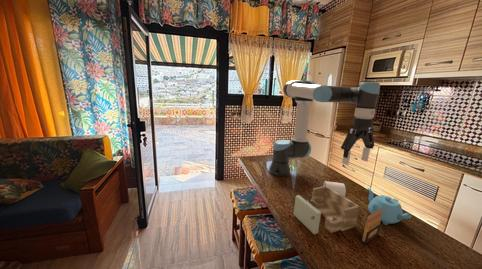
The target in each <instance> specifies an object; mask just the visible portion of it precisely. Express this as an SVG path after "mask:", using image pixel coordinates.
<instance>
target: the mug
mask: <svg viewBox="0 0 482 269" xmlns="http://www.w3.org/2000/svg"><path fill="white" fill-rule="evenodd" d="M323 186H327V187H328V188H330V189H332V190H333V191H335V192H337V193H338V194H340V195H342V196H343V197H345V198H346V191H347V189H346V185H345V183H342V182H334V181H327V180H325V181H323V184H322V187H323Z"/></svg>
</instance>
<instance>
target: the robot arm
mask: <svg viewBox="0 0 482 269" xmlns="http://www.w3.org/2000/svg"><path fill="white" fill-rule="evenodd" d="M380 88H381V84H380V82H377V81H364V82H360V83H359V86H358V87H357V86H341V85H340V86H339V85H337V86H335V85H324V84H316V82H314V81H312V80H298V79H297V80H296V79H292V80H288V81H287V82H285V84H284V85H283V88H282V91H283V94H284V96H286V97H288V98H290V99H294V101H295V103H296V112H295V119H294V120H295V122H294V132H293V137H292V138H291V140H288V139H279V140H275V142H274V143H273V147H272V160H271V162H270V166H268V167H269V168H268V172H269V174H271V173H272V174H274V175H273V176H275V175H276V177H280V176H282V178H283V177H285V178H286V177H288V176H290V175H291V168H290V159H303V158H307V157H309V156H310V154H311V152H312V146H311V143H310V142H309V140H308V137H307V136H308V135H307V134H308V128H309V127H308V126H309V120H310V119H309V117H310V109H311V104H312V103H313V102H314V101H315V102H319V103H342V104H343V103H345V104H355V110H354V114H353V116H354V118H353V121H352V126H354V128H349V129H348V133H347V134H346V136H345V138H344V140H343V141H342V144H341V146H340V149H341V150H343V152H342V153H343V156H342V162H341V164H343V165H347V166H349V163H350V159H351V154H352V151H351V150H352V148H353V147H354V146H355V144H356V143H357V141H358V140H360V139H361V140H362V142H363V145H364V146H363V149H362V153H361V159H360V161H363V162H367V163H368V161H369V156H370V152H371V149H372V150H373V149H374V147H375V140H374V138H375V137H374V128H373V125H374V124H373V123H374V119H373V118H375V115H376V109H377V108H376V107H377V103H378V99H379V95H380V90H381V89H380ZM272 174H271V175H272Z"/></svg>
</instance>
